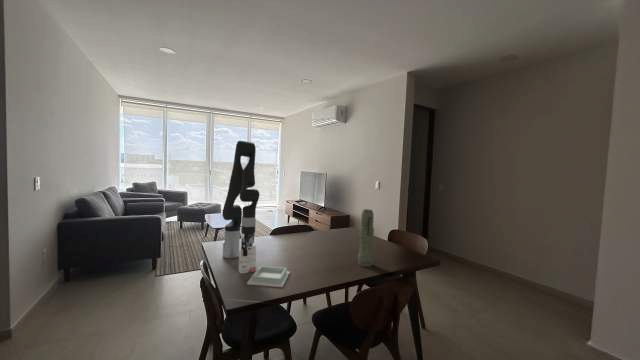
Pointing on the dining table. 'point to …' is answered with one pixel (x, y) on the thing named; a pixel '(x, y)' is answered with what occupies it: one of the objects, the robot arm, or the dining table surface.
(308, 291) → the dining table surface
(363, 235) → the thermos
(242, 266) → the ink cartridge box
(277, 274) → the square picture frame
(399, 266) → the dining table surface
